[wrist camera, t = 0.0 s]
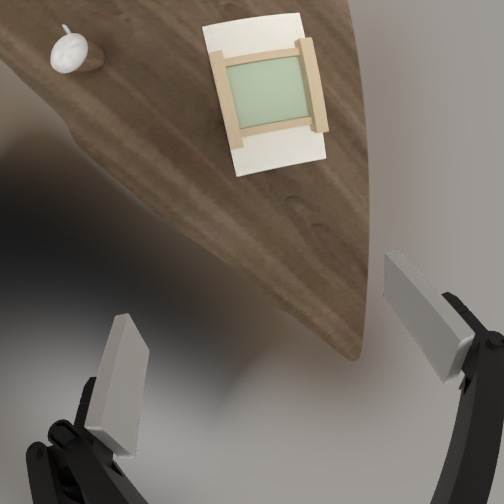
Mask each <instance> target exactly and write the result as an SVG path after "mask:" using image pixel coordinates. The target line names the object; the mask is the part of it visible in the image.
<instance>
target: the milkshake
mask: <svg viewBox="0 0 504 504" xmlns="http://www.w3.org/2000/svg"><path fill="white" fill-rule="evenodd" d="M62 27H63V28H64V30H65V31H66V32H67V34H68V35H65V36H63V37H62V38H60V39H59V40H58V41H57V43H56V44H55V45H54V47H53V49H52V52H51V59H50V61H51V65H52V67H53V68H54V69H55V70H56V71H58V72H60V73H70V72H80V71H94V70H96V69H98V68H100V67H101V66H102V65H103V63H104V62H105V53H104V51H103V50H102V49H101V48H100V47H98V46H97V45H95V44H93V43H92V42H90V41H89V40H87V39H86V38H84V37H83V36H82V35H80V34H77V33H71V32H70V30H69V29H68V27H67V26H66V24H62Z"/></svg>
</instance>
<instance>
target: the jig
mask: <svg viewBox="0 0 504 504" xmlns="http://www.w3.org/2000/svg"><path fill="white" fill-rule="evenodd" d="M202 29H203V34H204V38H205V42H206V46H207V51H208V55H209V59H210V64H211V68H212V72H213V77H214V81H215V85H216V90H217V94H218V98H219V103H220V107H221V111H222V116H223V120H224V124H225V129H226V133H227V137H228V142H229V146H230V150H231V155H232V159H233V163H234V168H235V172H236V176H237V177H238V176H242V175H247V174H251V173H256V172H260V171H265V170H270V169H274V168H279V167H284V166H289V165H294V164H299V163H304V162H309V161H315V160H320V159H326V152H325V145H324V138H323V132H329V129H328V122H327V116H326V109H325V103H324V97H323V92H322V86H321V80H320V75H319V70H318V65H317V60H316V55H315V50H314V45H313V41H312V37H309V38H305V35H304V31H303V26H302V22H301V18H300V14H299V13H289V14H278V15H269V16H261V17H254V18H247V19H240V20H234V21H229V22H223V23H218V24H213V25H209V26H204V27H202Z"/></svg>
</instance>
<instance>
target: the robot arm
mask: <svg viewBox="0 0 504 504" xmlns="http://www.w3.org/2000/svg"><path fill="white" fill-rule="evenodd" d="M383 297H384V298H385V299H386V301H387V302H388V303H389V305H390V306H391V307H392V309H393V310H394V312H395V313H396V314H397V316H398V317H399V318H400V320H401V322H402V323H403V324H404V326H405V327H406V329H407V330H408V332H409V333H410V334H411V336H412V337H413V339H414V340H415V342H416V343H417V344H418V346H419V348H420V349H421V351H422V352H423V353H424V355H425V356H426V358H427V360H428V361H429V363H430V364H431V366H432V367H433V369H434V370H435V372H436V373H437V375H438V376H439V378H440V379H441V381H442V382H443V384H446V383H448V382H450V381H452V380H454V379H456V378H457V377H458V375H459V373H460V371H461V369H462V371H463V372H464V374H465V376H464V378H463V381H462V383H461V385H460V387H459V389H460V390H461V388H462V391H461V396H460V402H459V407H458V412H457V417H456V421H455V425H454V430H453V434H452V438H451V441H450V445H449V449H448V452H447V456H446V459H445V462H444V466H443V469H442V472H441V475H440V478H439V481H438V484H437V487H436V490H435V492H434V495H433V498H432V500H431V503H430V504H487V500H488V497H489V493H490V490H491V486H492V482H493V478H494V473H495V469H496V464H497V459H498V454H499V449H500V443H501V436H502V429H503V421H504V336H503V335H502V334H500V333H499V332H495V331H488V330H487V329H486V328H485V327H484V326H483V325H482V324H481V323H480V321H479V320H478V319H477V318H476V317H475V316H474V315H473V314H472V312H471V311H469V309H468V308H467V307H466V306H465V305H464V304H463V303H462V302H461V300H459V298H458V297H456V296H455V295H453V294H451V293H449V292H446V293H444V294H440V293H439V292H438V291H437V290H436V289H435V288H434V286H433V285H432V284H431V283H430V282H429V281H428V280H427V279H426V278H425V277H424V276H423V275H422V274H421V273H420V272H419V271H418V270H417V269H416V268H415V267H414V266H413V265H412V263H411V262H410V261H408V260H407V259H406V257H405V256H403V254H401V252H399V251H398V250H397V249H396V250H393V251H389V252H385V253H384V280H383ZM148 356H149V349H148V347H147V346H146V344H145V343H144V341H143V339H142V337H141V335H140V333H139V332H138V330H137V328H136V326H135V325H134V323H133V321H132V319H131V317H130V315H129V314H123V315H118V316H115V319H114V322H113V325H112V329H111V332H110V335H109V338H108V341H107V344H106V347H105V351H104V354H103V357H102V360H101V364H100V367H99V371H98V374H97V377H90V378H89V380H88V381H87V383H86V384H85V386H84V389H83V392H82V397H81V399H80V404H79V407H78V410H77V414H76V418H75V422H74V426H73V425H72V424H71V423H70V422H69V421H67V420H64V419H63V420H58V421H56V422H55V423H54V424H53V425H52V426H51V427H50V429H49V431H48V440H49V442H51V443H52V444H53V445H52V446H49V447H47V446H46V445H45V444H43V443H42V442H39V441H38V442H34V443H32V444H31V445H30V446H29V447H28V449H27V452H26V463H27V470H28V477H29V483H30V489H31V494H32V499H33V504H148V503H147V501H145V499H144V498H143V497H142V496H141V494H140V493H139V492H138V491H137V489H136V488H135V487H134V486H133V484H132V483H131V482H130V481H129V479H128V478H127V477H126V475H125V474H124V473H123V472H122V470H121V469H120V467H119V466H118V465H117V463H116V462H115V461H114V460H113V453H115V454H116V455H117V456H118V457H119V458H136V447H137V438H138V428H139V419H140V412H141V403H142V396H143V389H144V382H145V375H146V369H147V363H148Z"/></svg>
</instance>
